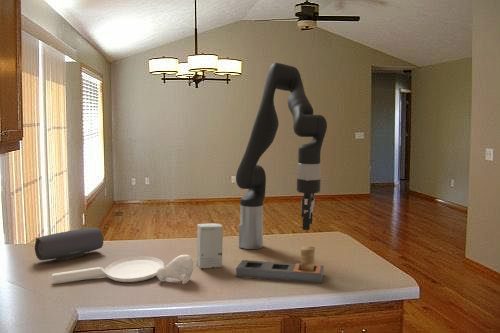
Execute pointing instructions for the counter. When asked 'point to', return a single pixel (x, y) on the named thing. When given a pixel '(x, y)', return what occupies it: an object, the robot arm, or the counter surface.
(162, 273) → the white animal figurine
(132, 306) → the counter surface
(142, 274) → the frying pan
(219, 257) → the skincare box
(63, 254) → the bluetooth speaker
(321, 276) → the graphite rail
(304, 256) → the oak peg
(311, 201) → the robot arm
